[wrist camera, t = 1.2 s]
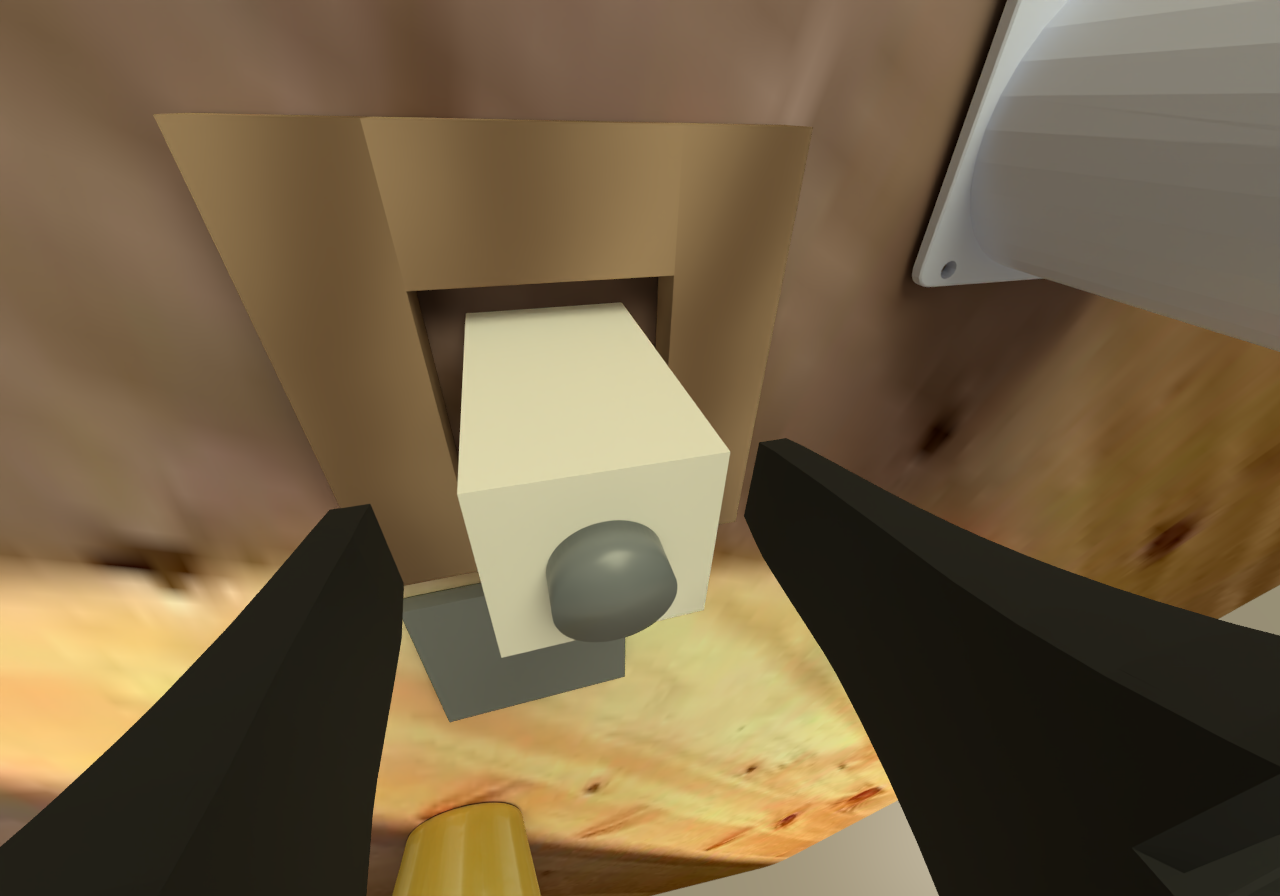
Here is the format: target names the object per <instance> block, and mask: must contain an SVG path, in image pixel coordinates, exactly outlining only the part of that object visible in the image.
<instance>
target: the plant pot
mask: <svg viewBox="0 0 1280 896" xmlns="http://www.w3.org/2000/svg"><path fill="white" fill-rule="evenodd" d="M392 896H541V895H540V891H539V886H538V882H537V878H536V873H535V869H534V865H533V860H532V856H531V852H530V848H529V843H528V839H527V835H526V830H525V826H524V821H523V817H522V814H521V812H520V810H519V809H518V808H516V807H515V806H513V805H510V804H506V803H479V804H473V805H468V806H464V807H460V808H456V809H453V810H449V811H447V812H444V813H441V814H439V815H437V816H434V817H432V818H431V819H429V820H427V821H425V822H424V823H422V824H421V825H419V826H418V827H417V828H416V829H414V830H413V831H412V833H411V834H410V835H409V837H408V839H407V842H406V846H405V850H404V854H403V858H402V861H401V865H400V869H399V873H398V876H397V880H396V884H395V887H394V891H393V894H392Z"/></svg>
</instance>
